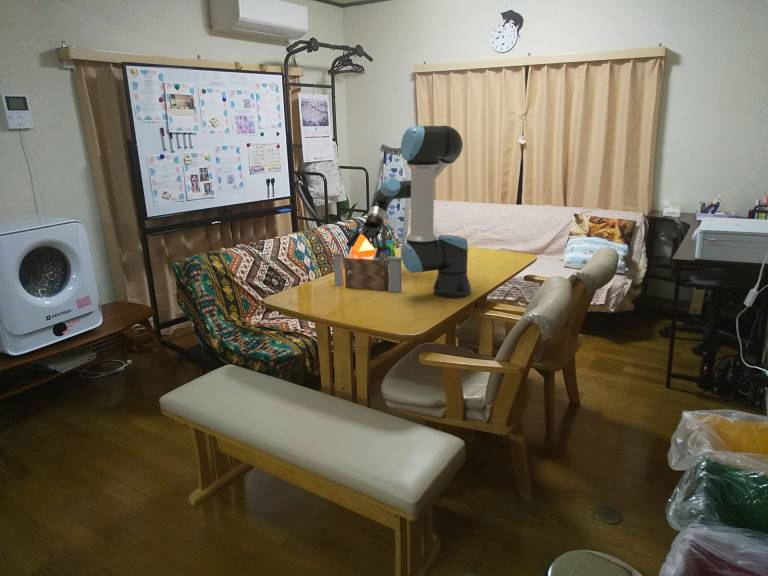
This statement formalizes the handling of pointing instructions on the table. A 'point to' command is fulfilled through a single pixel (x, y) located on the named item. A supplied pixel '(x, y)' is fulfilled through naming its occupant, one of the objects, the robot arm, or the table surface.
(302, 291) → the table surface
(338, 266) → the grey rectangular posts
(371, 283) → the gate
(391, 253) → the snack cup
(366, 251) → the orange juice
